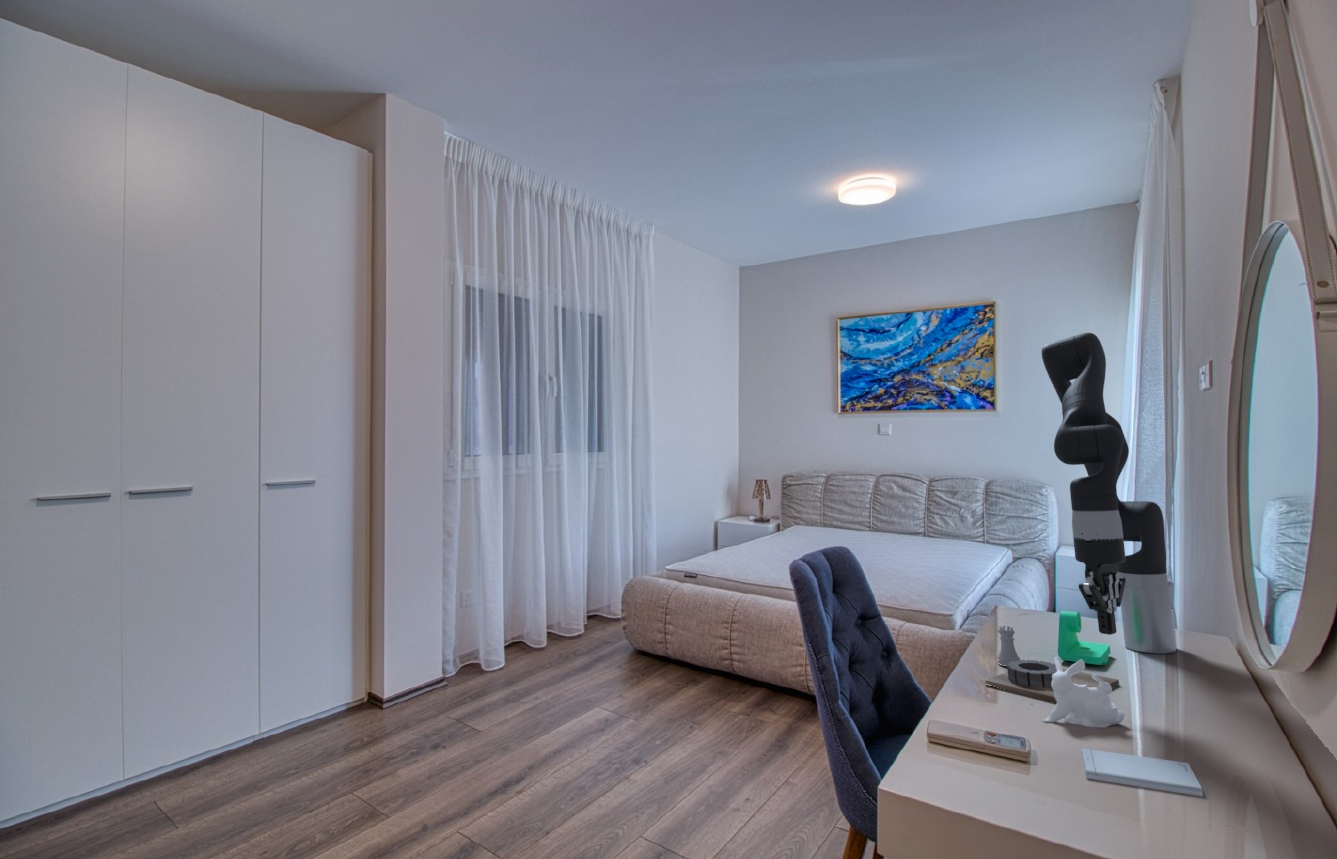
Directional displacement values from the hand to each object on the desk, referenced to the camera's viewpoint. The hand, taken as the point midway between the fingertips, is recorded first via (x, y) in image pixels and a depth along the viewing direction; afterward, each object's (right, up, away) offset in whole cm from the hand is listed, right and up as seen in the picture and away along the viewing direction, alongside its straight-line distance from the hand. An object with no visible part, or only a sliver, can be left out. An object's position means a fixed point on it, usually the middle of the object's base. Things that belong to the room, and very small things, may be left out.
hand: (1107, 633), depth 111 cm
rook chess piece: (-5, -15, +24) cm, 28 cm away
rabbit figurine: (-9, -13, -6) cm, 17 cm away
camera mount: (+13, -14, +25) cm, 31 cm away
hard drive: (-14, -12, -26) cm, 32 cm away
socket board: (-4, -13, +10) cm, 17 cm away
